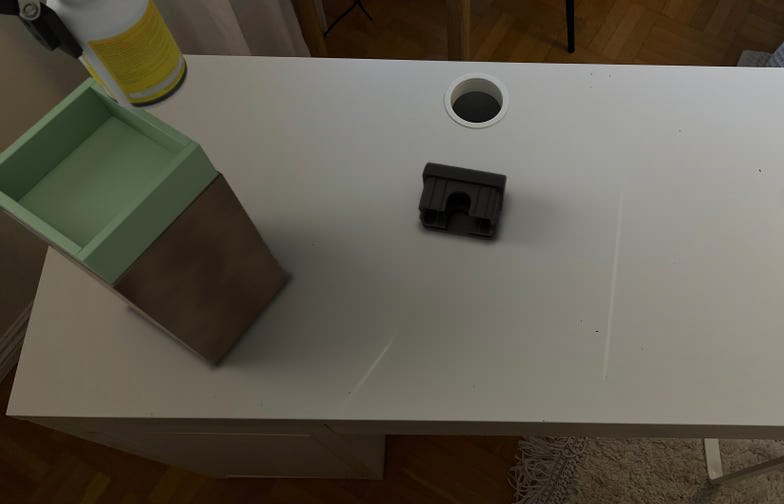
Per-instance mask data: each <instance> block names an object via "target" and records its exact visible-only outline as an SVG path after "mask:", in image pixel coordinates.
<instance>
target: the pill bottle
mask: <svg viewBox="0 0 784 504" xmlns="http://www.w3.org/2000/svg"><path fill="white" fill-rule="evenodd" d="M45 5H47V6H48V7H50V8H51V9H53V10H54V11H55V12H56V14H57V15H58V16H59V18H60V19H61V20H62V22H63V23H64V25H65V26H66V27H67V29H68V30H69V31H70V33H71V34H72V36H73V37H74V38H75V40H76V41H77V42H78V44H79V45H80V46H81V48H82V49H83V52H82V53H83V55H82V56H80V57H79V58H78V60H79V61H80V62H81V63H82V65H83V66H84V67H85V68H86V70H87V71H88V72H89V74H90V75H91V77H92V78H93V79H95V80H96V82H97V83H98V84H99V86H100V87H101V88H102V89H103V91H104V92H105V93H106V95H107V96H108V97H109V98H110V99H111V100H112V101H113V102H115V103H116V104H118V105H120V106H122V107H125V108H129V109H135V110H145V111H146V110H151V109H155V108H158V107H159V108H160V107H161V106H163V105H165V104H167V103H169V102H170V101H172V100H174V98H176V97H177V96H178V95H179V94H180V93H181V92H182V91H183V89H184V87H185V85H186V83H187V80H188V76H189V68H188V64H187V60H186V59H185V57H184V55H183V53H182V50H181V49H180V47H179V46H178V44H177V42H176V40H175V39H174V36H173V34H172V33H171V31H170V29H169V27H168V25H167V24H166V22H165V20H164V18H163V16H162V14H161V13H160V11H159V10H158V8H157V5H156V4H155V2H154V0H46V4H45Z"/></svg>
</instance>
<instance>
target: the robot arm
mask: <svg viewBox="0 0 784 504" xmlns="http://www.w3.org/2000/svg"><path fill="white" fill-rule="evenodd" d="M0 15H6V16H14V17H17V18H18V20H19V21H20V22H21V24H23V26H24V27H25V28H26V29H27V31H28V32H29V34H30V35H31V36H32V37H33V38H34V39H35V41H37V43H39V44H40V45H41V46H42V47H44V48H46V49H47V50H48V51H50V52H54V51H55V50H57V49H59V50H60V51H62V52H63V53H65V54H67V55H68V56H70V57H71V58H72V59H75V60H79V57H80V56H82V55H83V53H82V52H83V49H82V48H81V46H80V45H79V44H78V42H77V41H76V40H75V38H74V37H73V36H72V34H71V33H70V31H69V30H68V29H67V27H66V26H65V25H64V23H63V22H62V20H61V19H60V18H59V16H58V15H57V14H56V12H55V11H54V10H53V9H51V8H50V7H48V6H47V5H46V4H45V3H43V2H42V1H40V0H0Z"/></svg>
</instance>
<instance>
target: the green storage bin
mask: <svg viewBox="0 0 784 504" xmlns="http://www.w3.org/2000/svg"><path fill="white" fill-rule="evenodd" d="M217 171H218V170H217V169H216V167H215V165H214V163H212V161H211V160H210V158H209V156H208V155H207V154H206V151H205V150H204V149H203V147H202V145H201V144H200V143H199V142H197V141H195V140H193V139H192V138H190V137H189V136H187V135H186V134H184V133H182V132H181V131H179V130H178V129H175V128H174V127H173V126H172V125H170V124H168V123H166V122H164V121H163V120H161V119H160V118H158V117H156V116H155V115H153V114H151V113H150V112H149V111H148V110H146V109H145V110H135V109H129V108H125V107H122V106H120V105H118V104H116V103H115V102H113V101H112V100H111V99H110V98H109V97H108V96H107V95H106V93H105V92H104V91H103V89H102V88H101V87H100V86H99V84H98V83H97V82H96V80H95V79H94V78H93V76H89V77H88V78H87V79H85V81H83V82H81V84H80V85H79V86H77V87H76V88H75V89H74V90H73V91H71V93H70V94H68V95H67V96H66V97H65V98H63V99H62V100H61V101H60V102H59V103H58V104H56V106H54V107H53V108H52V109H51V110H50V111H48V112H47V113H46V114H45V115H44V116H43V117H42V118H41V119H39V120H38V121H37V122H36V123H34V125H32V126H31V127H30V128H28V130H26V131H25V132H24V133H23V134H22V135H21V136H20V137H18V138H17V139H16V140H15V141H14V142H12V144H10V145H9V146H8V147H7V148H6V149H5V150H3V151H2V152H1V153H0V207H2V208H3V209H6V210H7V211H8V212H10V213H11V214H13V215H14V216H15V217H17V218H18V219H20V220H21V221H23V222H24V223H25V224H27V225H28V226H30V227H31V228H32V229H34V230H35V231H37V232H38V233H40V234H41V235H42V236H44V237H45V238H47V239H48V240H50V241H51V242H52V243H54V244H55V245H57V246H58V247H59V248H61V249H62V250H64V251H65V252H67V253H68V254H69V255H71V256H72V257H74V258H75V259H76V260H78V261H79V262H81V263H82V264H84V265H85V266H86V267H88V268H89V269H91V270H92V271H94V272H95V273H96V274H98V275H99V276H101V277H102V278H103V279H105V280H106V281H108V282H109V283H111V284H113V283H114V282H115V281H116V280H117V279H118V278H119V277H120V276H121V275H122V274H123V273H124V272H125V271H126V270H127V269H128V268H129V267H130V266H131V264H132V263H133V262H134V261H135V260H136V259H137V258H138V257H139V256H140V255H141V254H142V253H143V252H144V251H145V250H146V249H147V248H148V247H149V246H150V245H151V244H152V243H153V242H154V241H155V240H156V239H157V238H158V237H159V235H160V234H161V233H162V232H163V231H164V230H165V229H166V228H167V227H168V226H169V225H170V224H171V223H172V222H173V221H174V220H175V219H176V218H177V217H178V216H179V215H180V214H181V213H182V212H183V211H184V210H185V209H186V208H187V206H188V205H189V204H190V203H191V202H192V201H193V200H194V199H195V198H196V197H197V196H198V195H199V194H200V193H201V192H202V191H203V190H204V189H205V188H206V187H207V186H208V185H209V184H210V183H211V182H212V181H213V180H214V179H215V177H216V176H217V175H218V172H217Z"/></svg>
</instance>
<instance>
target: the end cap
mask: <svg viewBox="0 0 784 504" xmlns="http://www.w3.org/2000/svg"><path fill="white" fill-rule="evenodd" d="M421 176H422V186H423V188H422V191H421V196H420V199H419V204H418V208H417V209H418V211H419V216H418V218H419V219H420V222H421V224H422V228H423V229H425V230H427V231H433V232H438V233H445V234H451V235H457V236H463V237H469V238H474V239H481V240H486V241H491V240H492V239H493V237H494V233H495V232H496V230H497V225H498V218H499V213H500V212H502V211H503V206H504V201H505V200H504V199H505V194H506V193H505V192H506V186H507V179H508V177H507V175H506V174H502V173H497V172H490V171H484V170H479V169H472V168H467V167H462V166H455V165H449V164H443V163H437V162H430V161H429V162H426V164H425V165H424V168H423V171H422V174H421Z"/></svg>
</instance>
